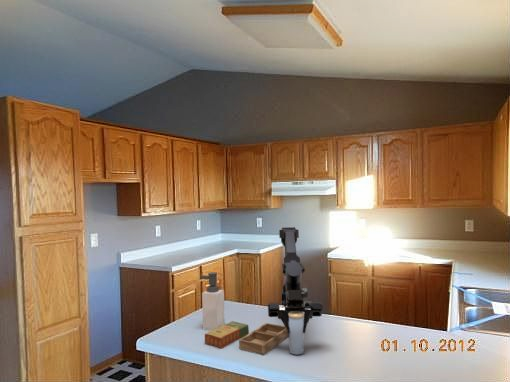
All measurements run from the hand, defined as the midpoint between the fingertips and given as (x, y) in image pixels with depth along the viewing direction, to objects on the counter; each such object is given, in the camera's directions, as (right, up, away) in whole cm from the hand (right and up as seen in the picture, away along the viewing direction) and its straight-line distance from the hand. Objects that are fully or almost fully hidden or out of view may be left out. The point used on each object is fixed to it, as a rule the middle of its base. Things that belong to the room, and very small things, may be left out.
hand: (296, 333), depth 124 cm
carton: (-24, -8, +15) cm, 30 cm away
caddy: (-10, -7, +11) cm, 17 cm away
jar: (0, -7, +1) cm, 7 cm away
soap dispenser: (-32, -8, +28) cm, 43 cm away
